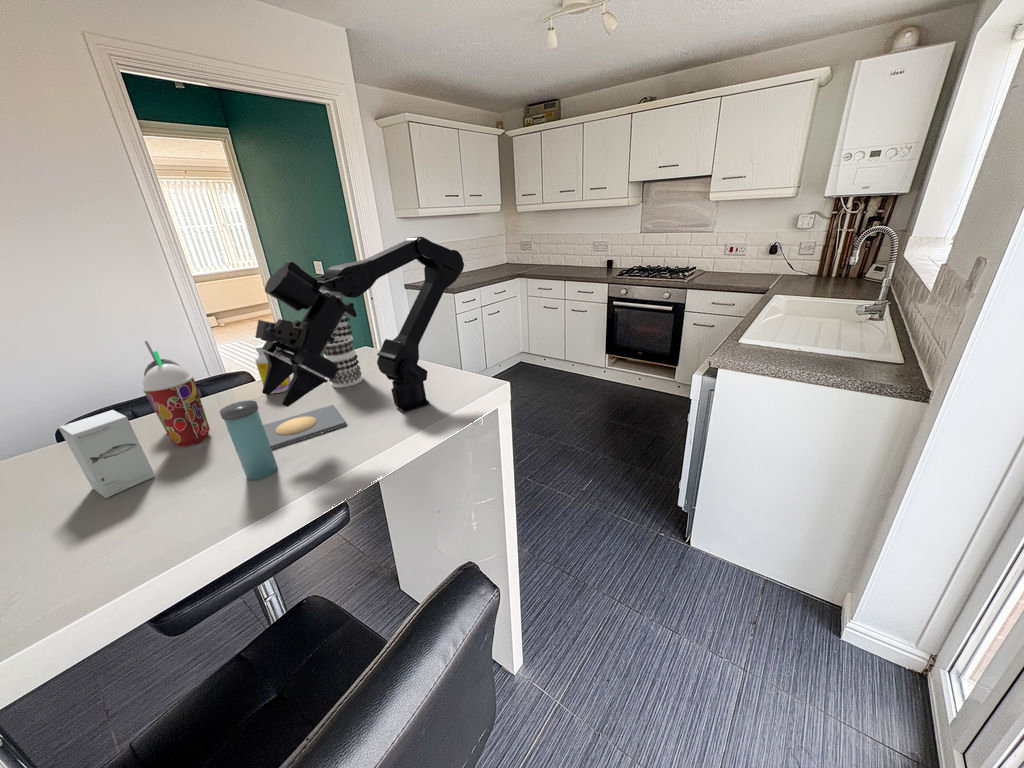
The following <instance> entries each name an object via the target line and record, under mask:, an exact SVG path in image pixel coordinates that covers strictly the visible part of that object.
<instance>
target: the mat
mask: <svg viewBox="0 0 1024 768" xmlns="http://www.w3.org/2000/svg"><path fill="white" fill-rule="evenodd" d="M345 425H346V426H348V424H347V421H346V420H345V418H344V417H343V416H342V414H341V413H340V412H339V410H338V409H337V407H336V406H335V405H334V404H330V405H326V406H324V407H320V408H317V409H314V410H310V411H306V412H304V413H299V414H296V415H292V416H289V417H286V418H283V419H279V420H276V421H273V422H269V423H266V424H263V426H264V429H265V432H266V435H267V438H268V441H269V444H270V446H271V449H272V450H275V449H278V448H280V446H281V447H284V446H286V445H285V444H287V445H289V444H288V443H290V444H292V443H291V442H293V443H296V442H299V441H298V440H300V441H302V440H301V439H303V440H305V439H304V438H306V439H308V437H309V438H311V437H310V436H312V437H314V436H313V435H315V436H317V435H316V434H318V435H320V434H319V433H321V432H324V433H326V432H325V431H328V430H331V429H334V430H336V429H335V428H337V429H339V427H340V428H343V427H346V426H345ZM342 426H343V427H342ZM331 431H332V430H331ZM328 432H329V431H328ZM321 434H322V433H321ZM295 441H296V442H295ZM283 445H284V446H283ZM277 447H278V448H277ZM274 448H275V449H274Z"/></svg>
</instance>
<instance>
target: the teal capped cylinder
mask: <svg viewBox="0 0 1024 768" xmlns="http://www.w3.org/2000/svg"><path fill="white" fill-rule="evenodd" d="M219 415H220V417H221V419H222V420H224V423H225V425H226V428H227V431H228V434H229V436H230V438H231V441H232V443H233V447H234V449H235V452H236V454H237V456H238V459H239V462H240V465H241V466H242V470H243V472H244V474H245V475H244V476H245V477H246V479H247V480H248V481H249V480H250V481H256V480H257V481H258V480H262V479H266V478H267V477H269V476H271V475H273V474H274V473H276V472H277V470H278V464H277V460H276V458H275V455H274V453H273V449H271V446H270V444H269V441H268V438H267V435H266V432H265V429H264V426H263V425H264V423H263V422H262V418H261V415H260V412H259V406H258V403H257V401H256V400H253V399H250V400H248V399H247V400H240V401H236V402H234V403H231V404H228V405H226V406H225V407H222V408H221V409H220V411H219Z"/></svg>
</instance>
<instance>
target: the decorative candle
mask: <svg viewBox="0 0 1024 768" xmlns="http://www.w3.org/2000/svg"><path fill="white" fill-rule="evenodd" d="M319 291H321V292H322V293H323V294H325V295H327V296H328V297H329V296H331V295H333V294H331V293H330V292H329V291H324V290H319ZM334 296H336V295H334ZM336 297H337V298H339V299H340V300H342V301H343V298H342V296H336ZM350 320H351V318H350V317H349V316H346V315H344V316H343V318H342V319H341V321H340V323H339V325H338V326H337V328H336V330H335V331H334V333H333V335H332V337H333V338H335V340H334V342H333V343H329V342H328V343H327V345H326V347H325V349H324V350H323V357H325V358H326V359H328V360H330V361H332V362H334V363H336V364H337V368H338V372H337V374H336V376H335V377H334V379H333V380H332V379H329V378H328V381H329V382H330V386H331V387H332V388H346V387H350V386H355V385H357V384H359V383H360V382H362V380H363V377H362V371H361V365H358V364H359V360H358V355H357V353H356V350H355V348H354V347H355V346H354V344H353V340H354V337H353V336H352V334H353V331H352V330H351V329H352V325H350V324H348V322H350Z"/></svg>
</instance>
